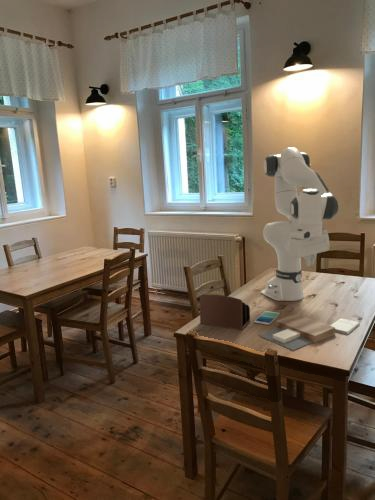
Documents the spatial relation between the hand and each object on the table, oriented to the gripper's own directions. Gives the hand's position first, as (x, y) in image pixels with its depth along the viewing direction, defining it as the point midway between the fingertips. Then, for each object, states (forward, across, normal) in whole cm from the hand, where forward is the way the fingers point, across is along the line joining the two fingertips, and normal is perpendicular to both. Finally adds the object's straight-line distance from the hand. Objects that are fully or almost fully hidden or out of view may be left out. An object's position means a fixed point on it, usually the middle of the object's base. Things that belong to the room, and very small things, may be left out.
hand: (309, 265), depth 162 cm
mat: (+27, +14, 0) cm, 31 cm away
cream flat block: (+27, +14, 0) cm, 30 cm away
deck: (+27, +3, 0) cm, 27 cm away
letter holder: (+28, +21, -29) cm, 45 cm away
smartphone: (+28, +4, -20) cm, 34 cm away
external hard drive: (+28, -12, +8) cm, 31 cm away
